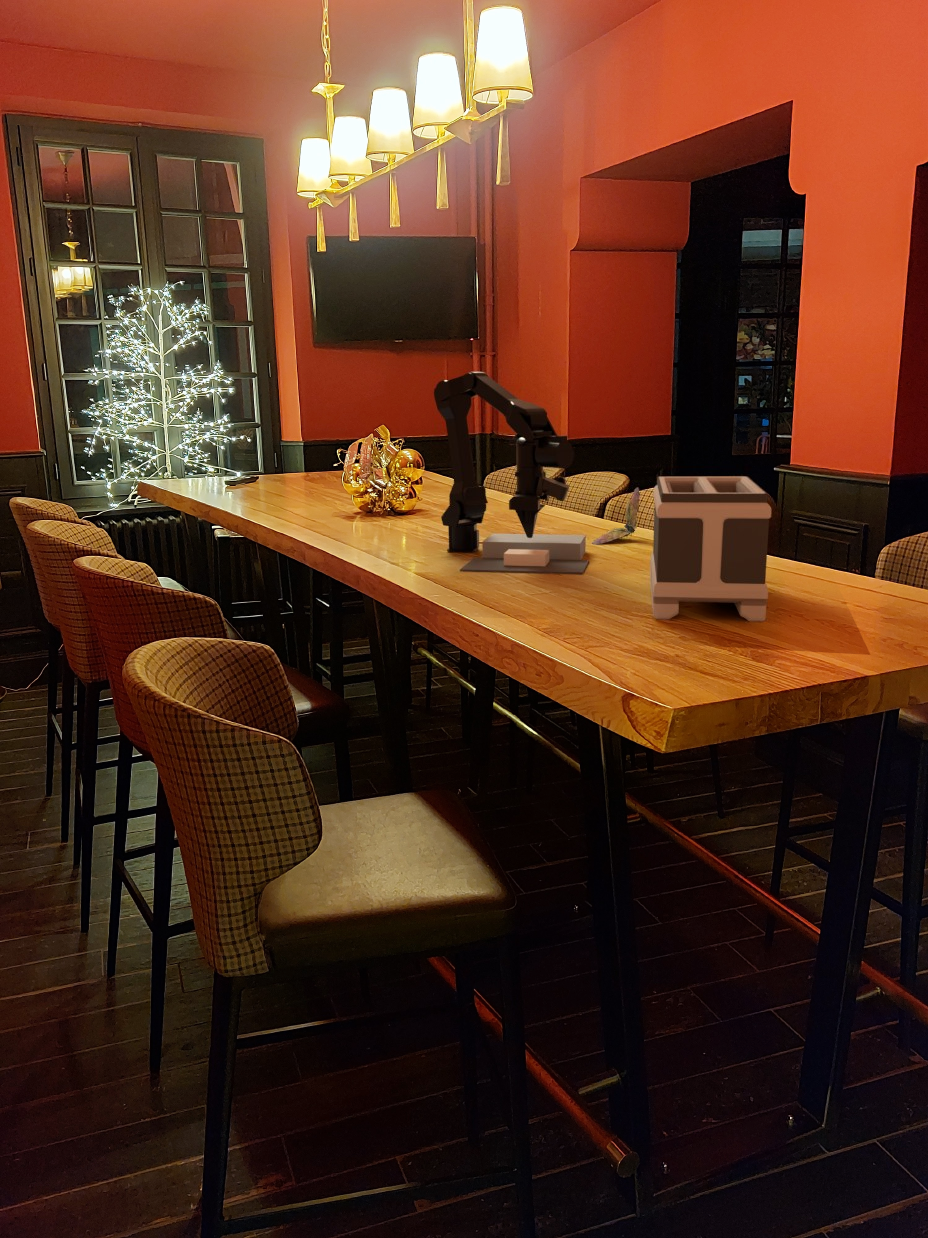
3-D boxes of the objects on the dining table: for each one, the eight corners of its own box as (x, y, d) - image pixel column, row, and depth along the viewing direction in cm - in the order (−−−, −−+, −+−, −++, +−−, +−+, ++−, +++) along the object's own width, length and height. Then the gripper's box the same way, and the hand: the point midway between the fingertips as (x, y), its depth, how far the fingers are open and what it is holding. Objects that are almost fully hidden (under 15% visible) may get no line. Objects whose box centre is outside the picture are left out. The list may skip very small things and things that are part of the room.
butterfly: (649, 493, 241) (619, 474, 237) (665, 504, 232) (634, 484, 228) (611, 550, 245) (580, 533, 241) (625, 563, 236) (594, 545, 232)
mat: (459, 571, 203) (459, 569, 203) (473, 559, 216) (473, 557, 216) (582, 574, 197) (582, 572, 197) (589, 561, 210) (589, 560, 210)
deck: (482, 559, 216) (482, 541, 215) (492, 550, 227) (492, 533, 226) (580, 561, 211) (580, 543, 210) (585, 551, 222) (585, 534, 221)
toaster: (743, 581, 188) (749, 473, 183) (767, 623, 155) (774, 494, 150) (648, 579, 191) (651, 473, 186) (652, 621, 159) (655, 494, 154)
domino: (508, 549, 211) (508, 560, 211) (503, 553, 205) (503, 565, 206) (549, 549, 209) (549, 561, 209) (545, 554, 203) (545, 566, 204)
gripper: (561, 470, 196) (561, 545, 200) (571, 462, 214) (571, 531, 218) (508, 470, 199) (508, 544, 202) (522, 462, 216) (522, 530, 220)
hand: (529, 537), depth 211 cm, fingers closed
